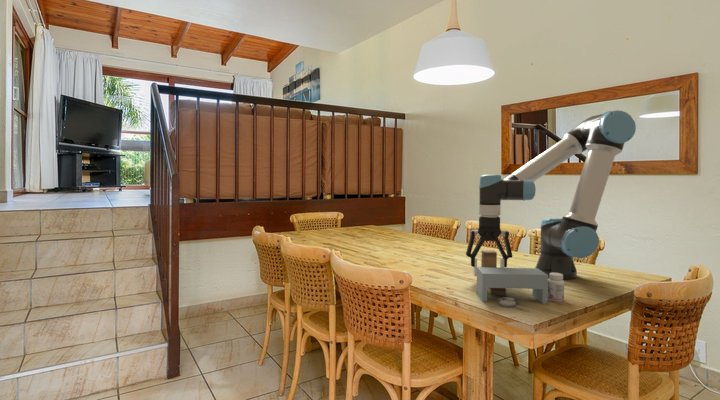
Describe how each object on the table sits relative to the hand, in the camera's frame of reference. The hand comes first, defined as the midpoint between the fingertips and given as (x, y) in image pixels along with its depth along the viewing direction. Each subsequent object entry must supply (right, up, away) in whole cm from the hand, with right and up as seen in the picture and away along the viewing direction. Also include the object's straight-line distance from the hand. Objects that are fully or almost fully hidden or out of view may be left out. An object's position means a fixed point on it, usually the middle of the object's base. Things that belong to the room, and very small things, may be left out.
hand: (488, 275), depth 145 cm
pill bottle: (+15, -4, -20) cm, 25 cm away
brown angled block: (-1, -3, -6) cm, 7 cm away
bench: (+1, -4, -18) cm, 18 cm away
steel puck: (-3, -5, -25) cm, 26 cm away
